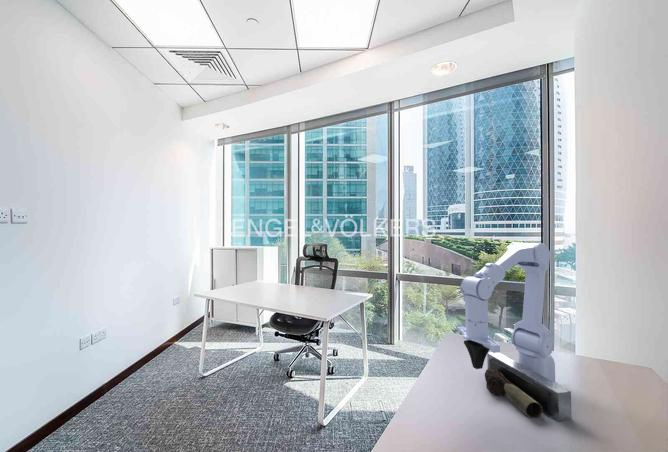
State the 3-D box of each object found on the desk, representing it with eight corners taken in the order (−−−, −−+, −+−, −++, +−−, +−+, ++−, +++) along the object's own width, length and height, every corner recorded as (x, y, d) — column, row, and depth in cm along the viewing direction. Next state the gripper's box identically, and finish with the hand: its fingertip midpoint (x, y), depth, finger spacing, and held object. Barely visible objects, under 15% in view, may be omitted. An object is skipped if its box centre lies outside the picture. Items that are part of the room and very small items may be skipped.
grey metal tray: (497, 372, 94) (497, 351, 95) (571, 418, 71) (570, 391, 71) (485, 374, 93) (484, 353, 94) (555, 422, 70) (555, 393, 70)
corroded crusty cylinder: (543, 418, 72) (542, 396, 72) (519, 421, 71) (518, 398, 71) (495, 381, 89) (495, 363, 89) (476, 383, 89) (475, 365, 89)
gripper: (448, 313, 86) (449, 357, 86) (483, 329, 72) (484, 383, 71) (468, 311, 87) (469, 355, 87) (506, 327, 73) (507, 379, 73)
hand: (477, 367), depth 79 cm, fingers closed
